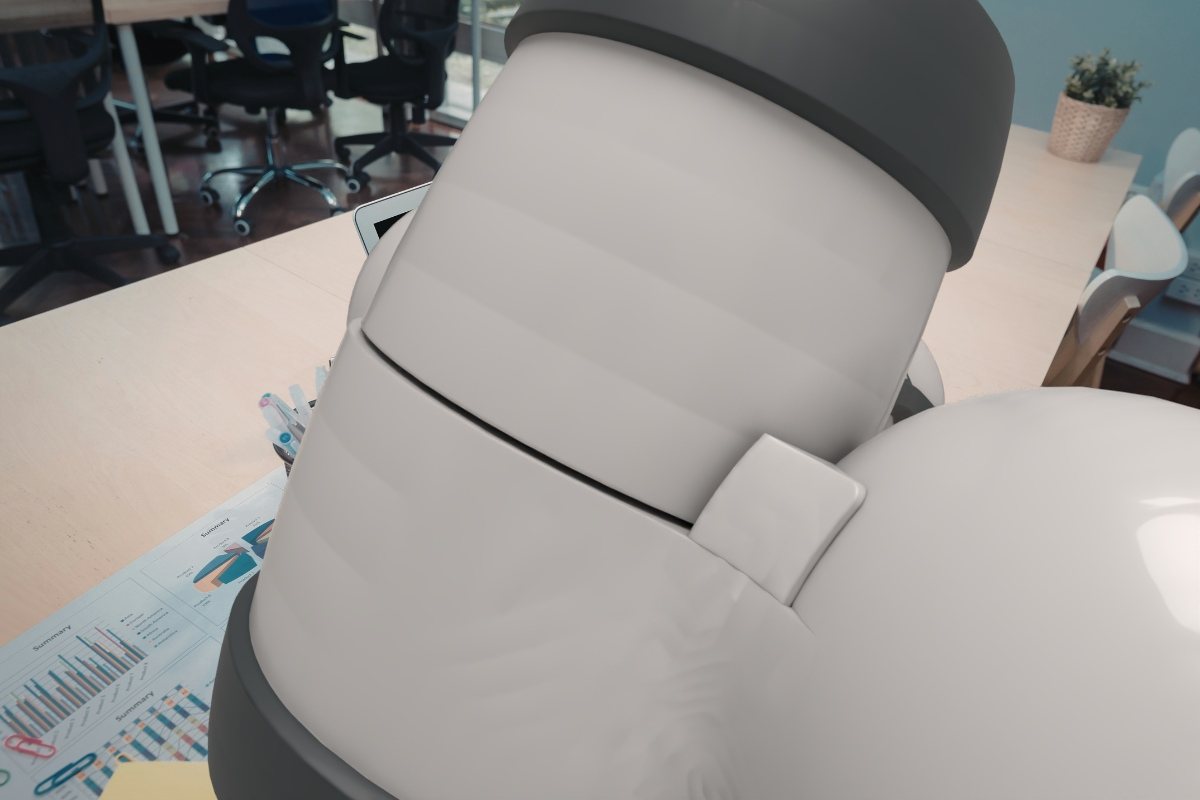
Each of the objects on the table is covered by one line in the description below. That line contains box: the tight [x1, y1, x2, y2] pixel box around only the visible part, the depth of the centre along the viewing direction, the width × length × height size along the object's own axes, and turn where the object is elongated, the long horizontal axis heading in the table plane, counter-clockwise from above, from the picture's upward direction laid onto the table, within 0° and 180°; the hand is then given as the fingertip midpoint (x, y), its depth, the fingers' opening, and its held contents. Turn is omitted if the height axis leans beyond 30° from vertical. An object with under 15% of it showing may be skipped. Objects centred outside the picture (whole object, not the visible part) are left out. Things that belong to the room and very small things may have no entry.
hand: (723, 226), depth 69 cm, fingers open, 8 cm apart
